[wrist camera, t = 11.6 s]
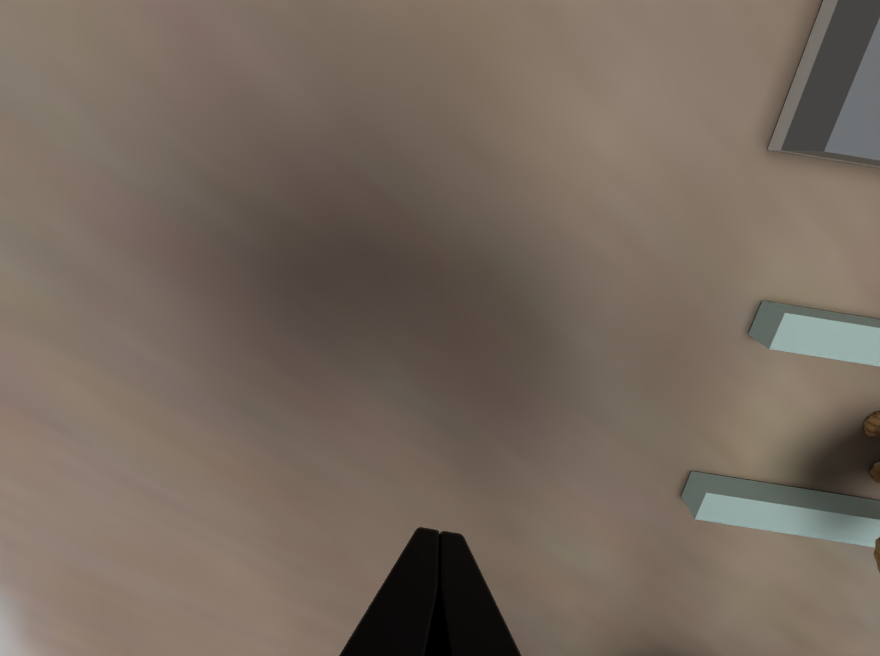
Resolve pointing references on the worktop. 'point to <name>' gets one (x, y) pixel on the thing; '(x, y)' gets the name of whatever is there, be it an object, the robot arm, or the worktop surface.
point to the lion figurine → (874, 427)
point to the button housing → (836, 88)
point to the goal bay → (784, 503)
